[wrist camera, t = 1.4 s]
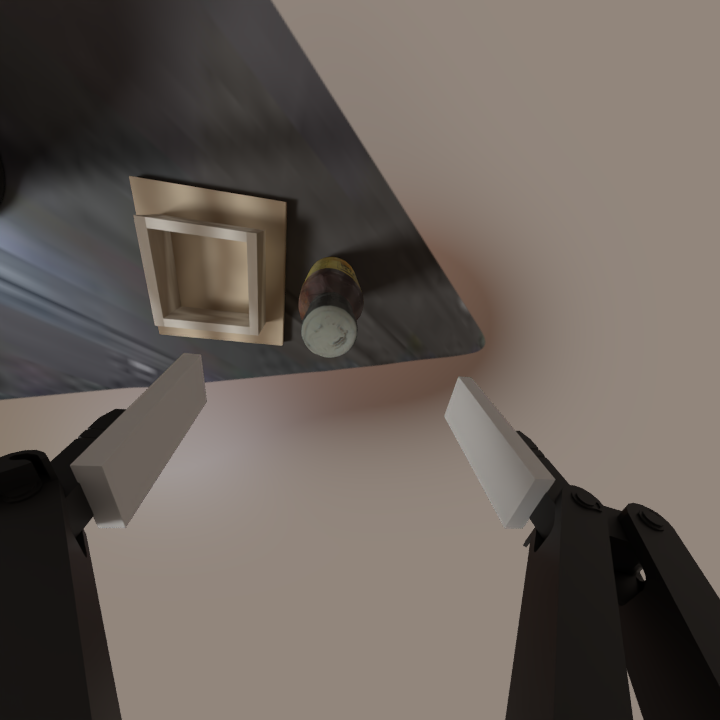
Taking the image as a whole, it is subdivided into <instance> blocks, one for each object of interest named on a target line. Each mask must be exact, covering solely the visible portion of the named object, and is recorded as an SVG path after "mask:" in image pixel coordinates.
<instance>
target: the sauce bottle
mask: <svg viewBox="0 0 720 720" xmlns="http://www.w3.org/2000/svg"><path fill="white" fill-rule="evenodd" d="M363 304H364V301H363V295H362V291H361V288H360V286H359V283H358V280H357V278H356V275H355V272H354V270H353V269H352V267H351V266H350V265H349V264H348V263H347V262H346V261H344V260H342V259H340V258H337V257H326V258H323V259H321V260H319V261H317V262H316V263H315V264H314V265H313V266H312V268H311V270H310V272H309V273H308V276H307V278H306V280H305V282H304V284H303V286H302V289H301V292H300V295H299V312H300V315H301V319H302V320H303V321H302V326H301V334H302V338H303V341H304V342H305V344H306V346H307V347H308V349H309V350H311V351H312V352H313V353H315V354H318V355H319V356H323V357H337V356H340V355H342V354H345V353H346V352H348V351H349V350H350V348H351V347H352V346H353V344H354V343H355V341H356V338H357V331H358V329H357V321H356V320H357V319H358V318H359V317H360V315H361V313H362V310H363Z"/></svg>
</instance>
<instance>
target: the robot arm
mask: <svg viewBox="0 0 720 720" xmlns="http://www.w3.org/2000/svg"><path fill="white" fill-rule="evenodd" d="M3 193H4V172H3V167H2V163H1V159H0V203H1V200H2V197H3ZM206 402H207V400H206V391H205V383H204V375H203V367H202V359H201V355H199V354H187V353H183V354H182V355H181V356H180V357H179V358H178V359H177V360H176V361H175V362H174V363H173V364H172V365H171V366H170V367H169V368H168V369H167V370H166V371H165V372H164V373H163V374H162V375H161V376H160V377H159V378H158V379H157V380H156V381H155V382H154V383H153V384H152V385H151V386H150V387H149V388H148V389H147V390H146V391H145V392H144V393H143V394H142V395H141V396H140V397H139V398H138V399H137V400H136V401H135V402H134V403H133V404H132V405H131V406H130V407H129V408H128V409H114V410H113V411H111V412H109V413H107V414H105V415H103V416H101V417H100V418H98V419H97V420H96V421H95V422H94V423H93V424H92V425H91V426H90V427H89V428H88V430H85V431H84V432H83V433H82V434H81V435H80V436H79V437H78V439H76V440H74V441H73V442H72V443H71V444H70V445H69V446H68V447H66V448H65V449H64V450H63V451H62V452H61V453H60V454H59V455H58V456H56V457H55V458H54V459H53V460H52V461H51V462H50V461H49V459H48V457H47V455H46V454H45V453H44V452H41V451H38V450H25V451H19V452H15V453H11V454H8V455H5V456H2V457H0V720H122V719H121V714H120V708H119V703H118V698H117V693H116V687H115V682H114V677H113V672H112V666H111V661H110V656H109V651H108V646H107V640H106V635H105V630H104V625H103V620H102V614H101V609H100V605H99V599H98V594H97V588H96V584H95V578H94V573H93V568H92V562H91V557H90V552H89V547H88V541H87V536H86V533H85V532H84V527H85V526H86V525H87V523H88V522H89V521H90V520H91V518H92V517H94V519H95V522H96V524H97V526H98V528H126V526H127V525H128V523H129V522H130V520H131V519H132V517H133V516H134V514H135V512H136V511H137V509H138V508H139V506H140V504H141V503H142V502H143V500H144V498H145V497H146V495H147V494H148V492H149V491H150V489H151V488H152V486H153V484H154V483H155V481H156V480H157V478H158V477H159V475H160V474H161V472H162V470H163V469H164V467H165V466H166V464H167V463H168V461H169V459H170V458H171V456H172V455H173V453H174V451H175V450H176V449H177V447H178V446H179V444H180V442H181V441H182V439H183V438H184V436H185V434H186V433H187V432H188V430H189V429H190V427H191V425H192V424H193V422H194V421H195V419H196V417H197V416H198V414H199V413H200V411H201V410H202V408H203V407H204V405H205V404H206ZM444 417H445V419H446V421H447V422H448V424H449V426H450V428H451V430H452V432H453V433H454V435H455V437H456V439H457V441H458V443H459V445H460V446H461V448H462V450H463V452H464V454H465V456H466V458H467V459H468V461H469V463H470V465H471V467H472V469H473V471H474V472H475V474H476V476H477V478H478V480H479V482H480V483H481V485H482V487H483V489H484V491H485V493H486V494H487V496H488V498H489V500H490V502H491V504H492V506H493V508H494V510H495V511H496V513H497V515H498V517H499V519H500V521H501V522H502V524H503V526H504V528H523V527H524V526H525V524H526V523H527V521H528V520H529V518H530V520H531V521H532V523H533V524H534V526H535V528H534V530H533V531H532V533H531V534H530V535H529V537H528V538H527V539H526V541H525V543H524V545H523V546H525V547H527V546H528V544H529V543H530V547H529V555H528V562H527V569H526V576H525V583H524V591H523V597H522V605H521V612H520V619H519V626H518V633H517V640H516V647H515V654H514V662H513V669H512V676H511V683H510V690H509V697H508V704H507V712H506V719H505V720H633V715H632V708H631V700H630V692H629V684H628V677H627V671H628V674H629V677H630V680H631V683H632V686H633V689H634V692H635V695H636V698H637V701H638V704H639V707H640V710H641V713H642V716H643V719H644V720H720V599H719V597H718V596H717V594H716V593H715V591H714V590H713V588H712V586H711V585H710V584H709V582H708V580H707V579H706V577H705V576H704V574H703V573H702V571H701V570H700V568H699V567H698V565H697V563H696V562H695V560H694V559H693V557H692V556H691V554H690V553H689V551H688V550H687V548H686V547H685V545H684V544H683V542H682V540H681V539H680V537H679V536H678V535H677V533H676V531H675V530H674V528H673V527H672V526H671V525H670V524H669V522H667V521H666V520H665V519H664V518H663V517H662V516H661V515H659V514H658V513H656V512H654V511H653V510H651V509H649V508H647V507H645V506H643V505H640V504H636V503H631V504H628V505H627V506H626V507H625V508H624V509H623V511H619V510H616V509H612V508H609V507H606V506H603V505H602V504H601V503H600V501H599V500H598V499H597V498H596V497H594V496H593V495H592V494H591V493H589V492H587V491H586V490H584V489H582V488H580V487H577V486H573V485H569V484H568V483H567V481H566V480H565V479H564V478H563V477H562V475H561V474H560V473H559V472H558V471H557V470H556V468H555V467H554V466H553V465H552V464H551V463H550V461H549V460H548V459H547V458H545V456H544V454H543V453H542V452H541V451H540V450H538V447H537V446H536V445H535V444H534V443H533V442H532V441H531V439H529V438H528V437H527V436H525V435H524V434H523V433H522V432H520V431H515V430H514V429H513V427H512V426H511V425H510V424H509V423H508V421H507V420H506V419H505V418H504V416H503V415H502V414H501V413H500V412H499V410H498V409H497V408H496V407H495V406H494V404H493V403H492V402H491V401H490V399H489V398H488V397H487V396H486V395H485V393H484V392H483V391H482V390H481V388H480V387H479V386H478V385H477V384H476V382H475V381H474V380H473V379H472V378H471V377H458V379H457V382H456V385H455V388H454V391H453V393H452V396H451V399H450V402H449V405H448V408H447V410H446V413H445V416H444ZM642 569H643V570H644V573H645V576H646V580H645V581H644V580H643V578H642V576H641V574H640V571H641V570H642ZM626 668H627V669H626Z"/></svg>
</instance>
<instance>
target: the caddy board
mask: <svg viewBox="0 0 720 720" xmlns="http://www.w3.org/2000/svg"><path fill="white" fill-rule="evenodd" d="M129 178H130V184H131V189H132V194H133V199H134V204H135V210H136V215H133V216H134V221H135V226H136V231H137V236H138V241H139V246H140V251H141V257H142V262H143V267H144V272H145V277H146V282H147V287H148V292H149V297H150V302H151V307H152V312H153V317H154V322H155V326H158V329H159V334H163V335H174V336H185V337H195V338H206V339H217V340H228V341H238V342H249V343H260V344H271V345H281V346H282V345H283V342H284V308H285V270H286V232H287V202H283V201H277V200H271V199H265V198H259V197H253V196H247V195H241V194H235V193H229V192H223V191H217V190H211V189H205V188H199V187H193V186H187V185H181V184H175V183H169V182H163V181H157V180H151V179H145V178H139V177H132V176H129Z"/></svg>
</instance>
